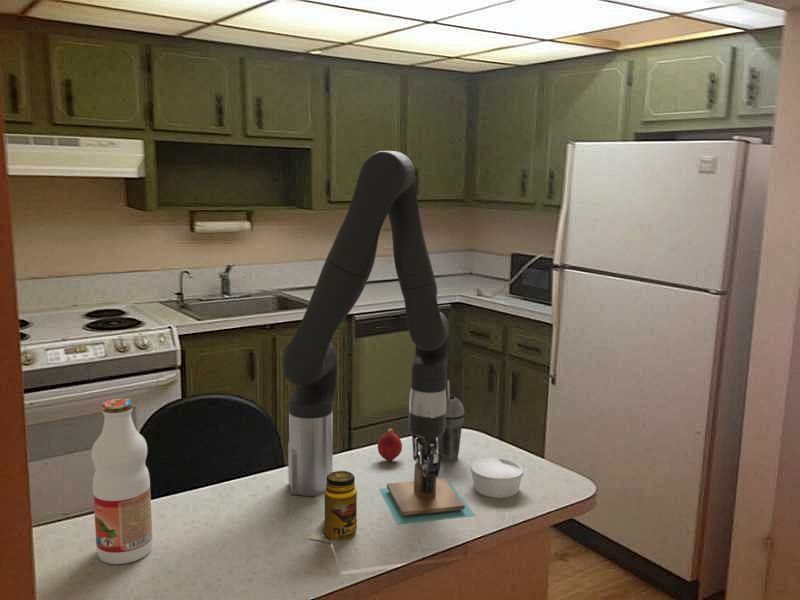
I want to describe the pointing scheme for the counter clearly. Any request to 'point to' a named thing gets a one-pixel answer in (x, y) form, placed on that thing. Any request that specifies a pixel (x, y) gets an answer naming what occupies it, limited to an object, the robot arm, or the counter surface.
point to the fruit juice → (121, 488)
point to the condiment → (338, 508)
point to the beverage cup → (451, 429)
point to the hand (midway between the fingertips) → (424, 487)
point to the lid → (424, 496)
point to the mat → (424, 516)
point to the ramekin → (496, 477)
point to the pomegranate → (389, 446)
